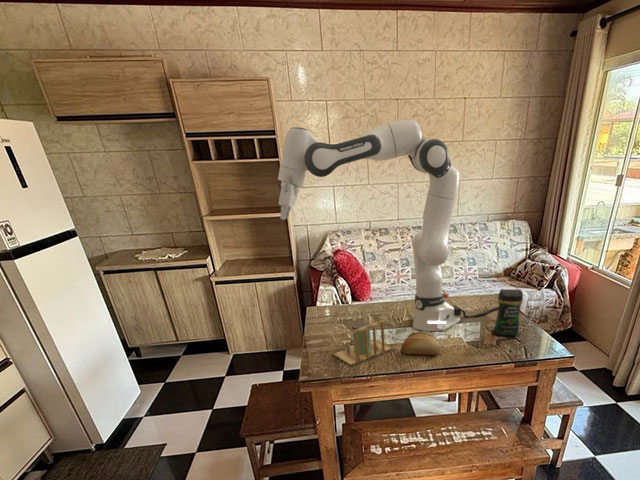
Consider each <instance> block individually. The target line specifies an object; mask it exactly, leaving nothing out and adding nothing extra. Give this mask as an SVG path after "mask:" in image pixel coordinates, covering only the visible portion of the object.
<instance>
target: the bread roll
mask: <svg viewBox="0 0 640 480" xmlns="http://www.w3.org/2000/svg"><path fill="white" fill-rule="evenodd" d="M400 348H401V349H400V350H401V352H402V353H403V354H406V355H423V356H436V355H438V354H440V352H441V349H442V347H441V344H440V342H439V340H438V338H437V337H436V336H435V335H434V334H432V333H430V332H428V331H416V332H412V333H411V334H409V335H408V336H407V337H406V338H405V339H404V341H403V342H402V344H401V347H400Z"/></svg>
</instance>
